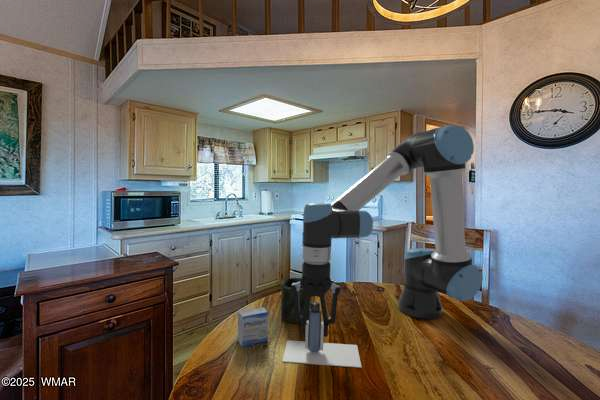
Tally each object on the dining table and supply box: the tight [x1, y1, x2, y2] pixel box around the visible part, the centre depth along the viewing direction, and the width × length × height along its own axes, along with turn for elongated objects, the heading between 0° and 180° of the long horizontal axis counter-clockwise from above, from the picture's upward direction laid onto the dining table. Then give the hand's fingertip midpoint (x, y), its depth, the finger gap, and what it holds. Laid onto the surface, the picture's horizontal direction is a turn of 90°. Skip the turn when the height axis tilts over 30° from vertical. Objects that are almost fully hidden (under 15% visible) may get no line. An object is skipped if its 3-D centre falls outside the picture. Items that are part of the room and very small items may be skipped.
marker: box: [308, 301, 322, 353], centre depth 76 cm, size 3×3×12 cm
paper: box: [282, 339, 363, 369], centre depth 77 cm, size 20×10×1 cm, turn 85°
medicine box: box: [237, 306, 269, 348], centre depth 82 cm, size 8×4×9 cm, turn 117°
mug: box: [280, 277, 312, 324], centre depth 96 cm, size 11×15×12 cm
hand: (314, 346), depth 77 cm, fingers closed on marker, 3 cm apart
